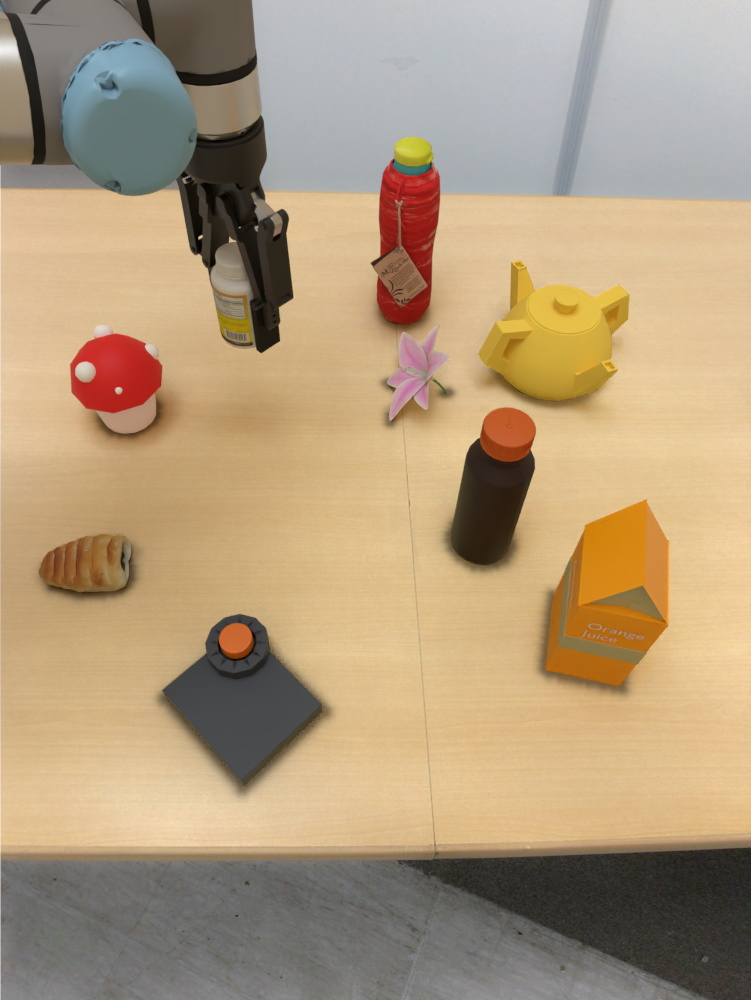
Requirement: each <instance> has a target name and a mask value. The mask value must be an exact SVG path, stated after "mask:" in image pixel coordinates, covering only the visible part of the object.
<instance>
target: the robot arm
mask: <svg viewBox="0 0 751 1000" xmlns="http://www.w3.org/2000/svg"><path fill="white" fill-rule="evenodd" d="M259 75H260V74H259V67H258V53H257V45H256V33H255V21H254V8H253V0H0V166H7V165H8V166H12V165H13V166H15V165H29V166H36V165H38V166H40V165H43V166H74V167H76V168H77V169H78V170H79V171H81V172H82V173H83V174H84V175H85V176H86V177H87V178H88V179H89V180H90V181H91V182H92V183H94V184H96V185H98V186H99V187H101V188H103V189H105V190H107V191H109V192H111V193H115V194H118V195H121V196H126V197H128V196H129V197H142V196H147V195H152V194H154V193H157V192H159V191H161V190H163V189H165V188H167V187H168V186H170V185H172V183H174V182H175V181H176V183H177V186H178V191H179V196H180V202H181V208H182V212H183V218H184V219H183V220H184V223H185V229H186V230H185V231H186V234H187V240H188V245H189V250H190V252H191V254H193V255H194V256H198V255H200V256H201V263H202V265H203V266H204V267H205V268H206V269H207V272H208V276H209V283H210V286H211V287H212V284H211V271H212V269H213V267H214V266H215V265H216V259H215V254H216V251H217V249H218V248H219V247H221V246H222V245H224V244H226V243H230V239H231V240H232V241H234V242H237V245H238V248H239V251H240V254H241V258H242V261H243V264H244V267H245V270H246V273H247V276H248V279H249V283H250V286H251V289H252V292H253V295H254V299H253V300H251V301H250V308H251V315H252V322H253V329H254V336H255V343H256V347H255V349H256V351H257V352H259V354H263V353H264V352H266V351H267V350H269V349H270V348H272V347H273V346H275V345H276V344H278V343H279V342H281V333H280V326H279V325H280V324H281V314H280V308H281V307H282V306H284V305H285V304H287V303H289V302H290V301H292V300H294V289H293V280H292V271H291V262H290V254H289V245H288V244H289V243H288V235H287V232H288V227H289V222H290V217H289V214H288V212H287V211H286V210H285V209H284V208H281V209H278V210H277V211H275V210H274V209H273V208H272V207H271V206H270V205H269V204H268V202H266V194H265V191H264V188H263V186H262V182H261V174H262V171H263V169H264V167H265V165H266V162H267V159H268V150H267V139H266V129H265V120H264V117H263V116H262V111H263V105H262V104H263V103H262V95H261V94H262V93H261V86H260V85H261V84H260V76H259ZM201 236H202V237H201ZM199 237H200V238H199ZM211 289H212V288H211ZM212 291H213V289H212ZM212 295H213V296H214V294H213V293H212Z"/></svg>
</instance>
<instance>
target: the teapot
mask: <svg viewBox="0 0 751 1000" xmlns="http://www.w3.org/2000/svg"><path fill="white" fill-rule="evenodd" d="M509 292H510V293H509V294H510V297H509V298H510V299H509V311H508V312H507V313H506V315H505V316H504V317H503V318H502V320H501V321H495V322H494V324H493V326H492V327H491V330H490V331H489V333H488V335H487V336H486V338H485V340H484V342H483V344H482V346H481V347H480V349H479V351H478V353H477V354H478V357H479V358H480V359H481V361H482V363H483V364H484V366H486V367H487V368H490V369H491V370H493V371H495V372H497V373H498V374H500V375H501V376H502V377H503V378H504V380H506V381H507V382H508V383H509V384H510V385H511V386H512V387H514V388H515V389H516V390H518V391H519V392H521V393H523V394H525V395H527V396H529V397H531V398H534V399H538V400H542V401H554V402H555V401H565V400H571V399H575V398H578V397H581V396H583V395H586V394H590V393H594V392H596V391H598V390H599V389H600V388H601V387H602V386H603V385H604V384H605V383H606V382H607V381H608V380H609V379H611V378H612V377H613V376H614V375H615V374H616V373H617V372H618V371H619V369H618V367H617V366H616V364H615V363H614V362H613V360H612V356H613V340H612V335H614V334H615V333H616V331H618V330H619V329H620V328H621V327H622V326H623V325H624V324H625V323H626V322H627V321H628V320H629V312H630V310H629V309H630V293H629V292H628V291H627V290H626V289H625V288H624V287H623V286H621V285H620V284H618V285H615V286H613V287H611V288H609V289H607V290H606V291H604V292H602V293H600V294H598V295H596V296H591V295H590V294H589V293H588V292H586V291H584V290H582V289H581V288H578V287H575V286H571V285H566V284H552V285H545V286H542V287H540V288H538V289H536V288H535V286H534V283H533V281H532V279H531V276H530V273H529V271H528V266H527V265H526V264H525V263H524V262H523V261H522V260H521V259H517V260H514V261H511V262H510V291H509Z"/></svg>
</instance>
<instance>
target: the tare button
mask: <svg viewBox="0 0 751 1000" xmlns="http://www.w3.org/2000/svg"><path fill="white" fill-rule="evenodd" d="M219 644H220V646H221V649H222V651H223V653H224V654H225V655H226V656H227V657H229V658H231V659H241V658H243V657H245V656H247V655H248V654H249V653H250V652H251V650H252V648H253V645H254V641H253V637H252V633H251V631H250V629H249V628H248V627H247V626H246V625H244V624H241V623H233V624H230V625H228V626H226V627H225V628H224V629H223V630H222V632H221V633H220V636H219Z"/></svg>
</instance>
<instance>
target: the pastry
mask: <svg viewBox="0 0 751 1000" xmlns="http://www.w3.org/2000/svg"><path fill="white" fill-rule="evenodd" d="M131 557H132V545H131V543H130V541H129V540H128V538H127V537H126V536H125V535H122V534H107V533H100V534H96V535H87V536H83V537H80V538H77V539H75V540H72V541H69V542H67V543H65V544H62V545H59V546H57V547H55V548H54V549H51V550H49V551H48V552H47V553H46V554H45V555H44V557H43V559H42V562H41V564H40V567H39V569H38V575H39V577H40V578H41V579H42V580H43V582H45V583H46V584H47V585H49V586H54V587H57V588H62V589H64V590H72V591H75V592H77V593H83V592H89V593H94V592H95V593H99V592H115V591H118V590H121V589H123V588H125V587H126V586H127V583H128V580H129V577H130V564H129V561H130V559H131Z"/></svg>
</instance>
